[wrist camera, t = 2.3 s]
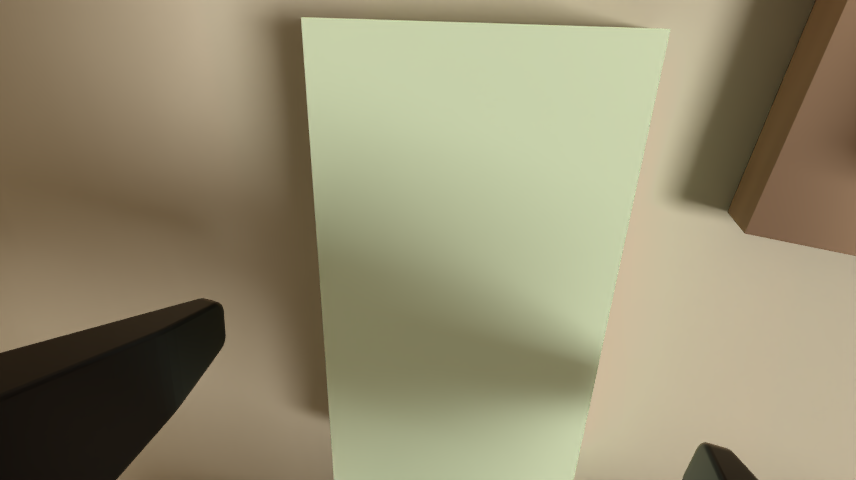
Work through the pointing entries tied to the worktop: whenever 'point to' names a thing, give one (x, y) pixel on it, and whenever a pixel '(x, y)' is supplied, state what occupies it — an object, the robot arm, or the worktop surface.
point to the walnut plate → (808, 142)
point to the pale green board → (470, 235)
